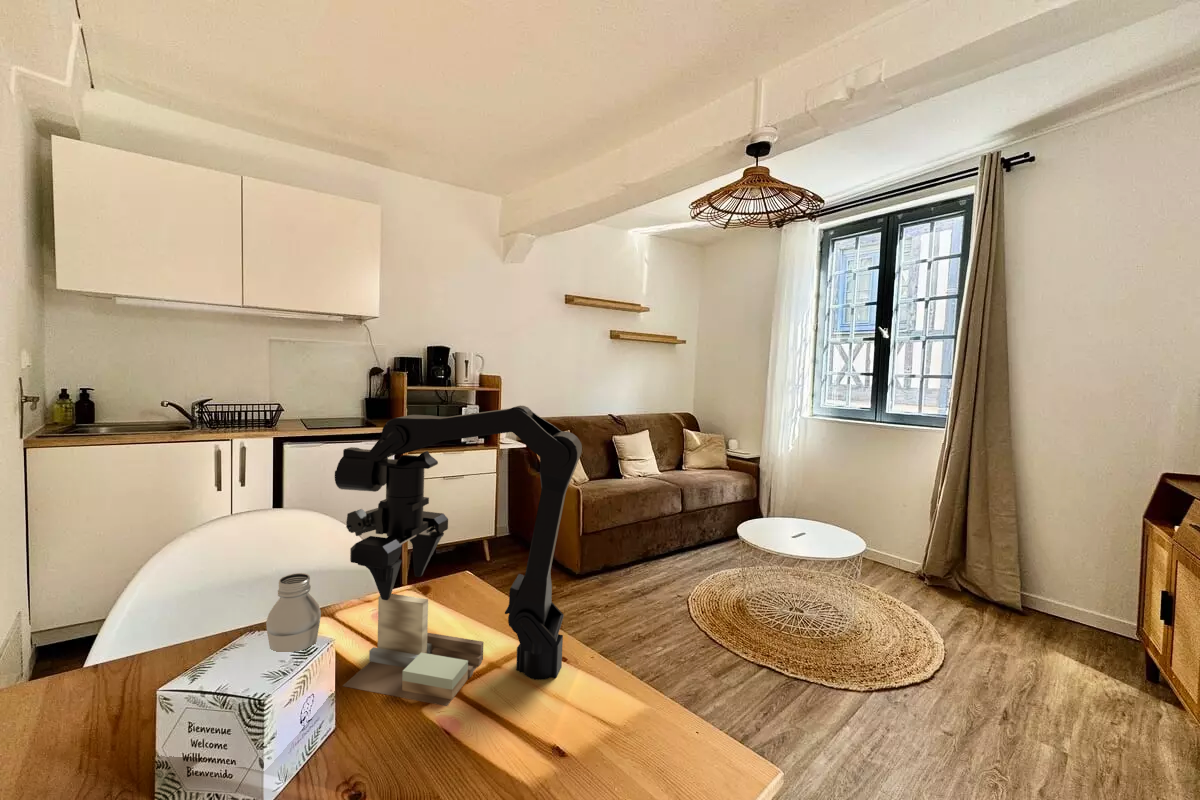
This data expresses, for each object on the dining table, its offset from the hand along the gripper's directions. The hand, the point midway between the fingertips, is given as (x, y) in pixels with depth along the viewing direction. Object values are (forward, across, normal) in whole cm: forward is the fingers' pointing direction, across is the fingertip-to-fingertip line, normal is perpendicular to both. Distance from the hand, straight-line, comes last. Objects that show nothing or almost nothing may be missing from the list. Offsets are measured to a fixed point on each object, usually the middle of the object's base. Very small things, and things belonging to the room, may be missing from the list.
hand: (402, 587), depth 82 cm
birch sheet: (+12, 0, 0) cm, 12 cm away
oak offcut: (+12, +5, +9) cm, 16 cm away
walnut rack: (+13, +3, +5) cm, 14 cm away
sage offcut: (+10, +5, +9) cm, 15 cm away
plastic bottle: (+13, +16, -6) cm, 21 cm away
